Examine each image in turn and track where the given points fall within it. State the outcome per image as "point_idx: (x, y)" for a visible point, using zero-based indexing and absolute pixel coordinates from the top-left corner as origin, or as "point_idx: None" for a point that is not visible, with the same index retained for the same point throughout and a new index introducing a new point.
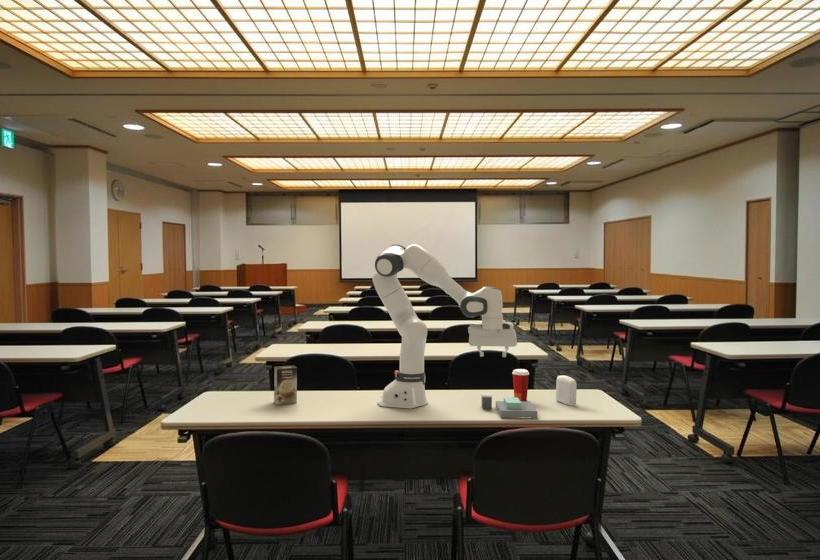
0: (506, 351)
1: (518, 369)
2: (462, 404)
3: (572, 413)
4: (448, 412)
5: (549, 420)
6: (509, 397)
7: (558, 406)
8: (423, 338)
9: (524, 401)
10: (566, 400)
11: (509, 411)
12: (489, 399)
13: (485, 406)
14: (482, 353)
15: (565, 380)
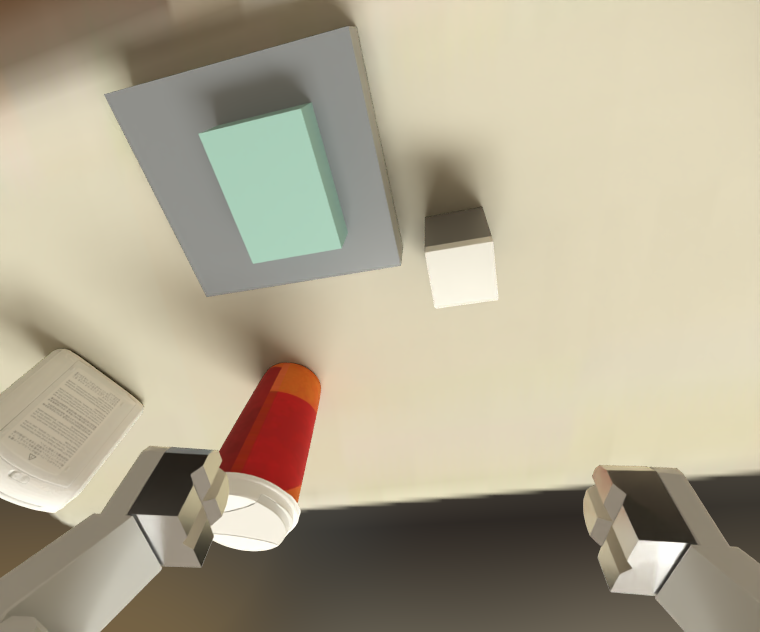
0: (55, 546)
1: (259, 542)
2: (603, 271)
3: (8, 239)
4: (745, 61)
5: (56, 66)
6: (303, 253)
7: (109, 333)
8: None
9: (236, 291)
10: (70, 371)
11: (284, 44)
12: (440, 237)
13: (464, 215)
14: (650, 519)
15: (2, 456)
